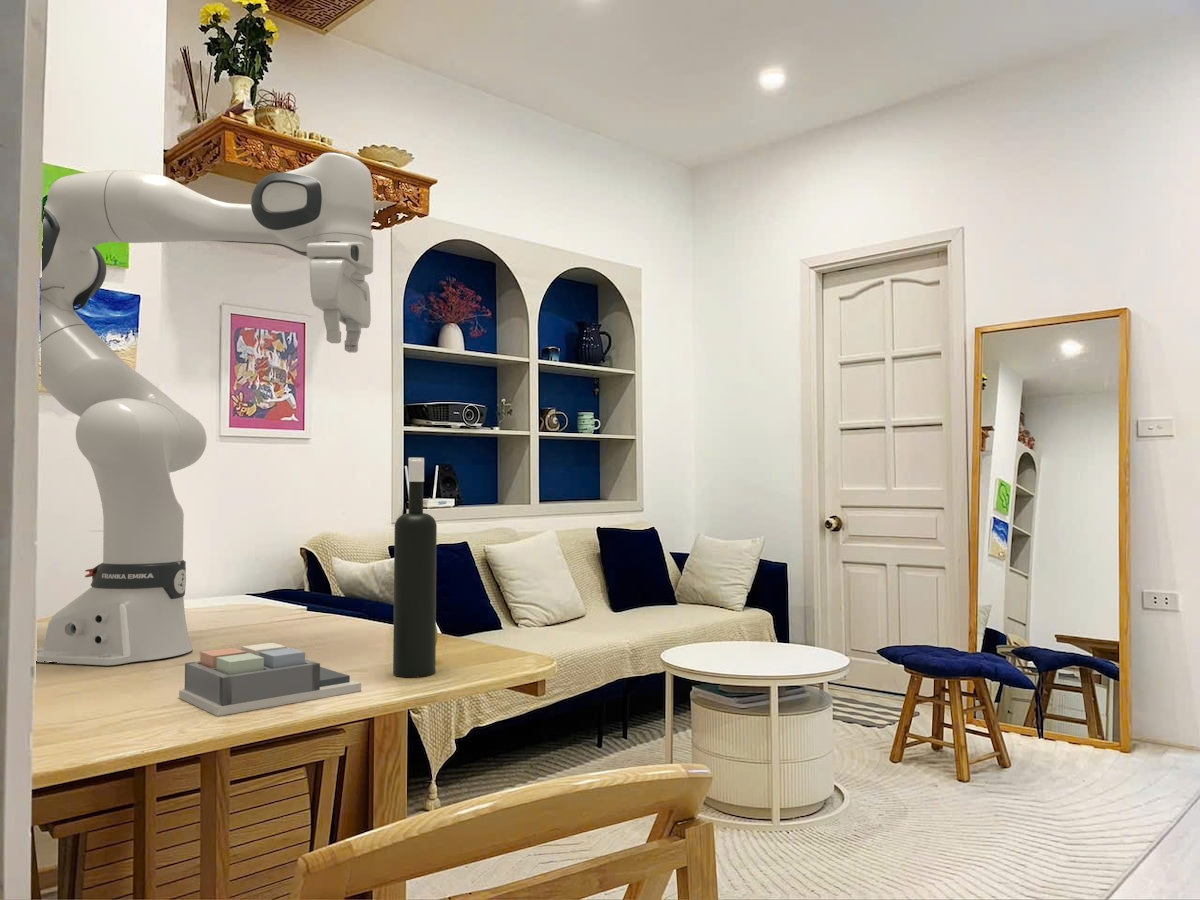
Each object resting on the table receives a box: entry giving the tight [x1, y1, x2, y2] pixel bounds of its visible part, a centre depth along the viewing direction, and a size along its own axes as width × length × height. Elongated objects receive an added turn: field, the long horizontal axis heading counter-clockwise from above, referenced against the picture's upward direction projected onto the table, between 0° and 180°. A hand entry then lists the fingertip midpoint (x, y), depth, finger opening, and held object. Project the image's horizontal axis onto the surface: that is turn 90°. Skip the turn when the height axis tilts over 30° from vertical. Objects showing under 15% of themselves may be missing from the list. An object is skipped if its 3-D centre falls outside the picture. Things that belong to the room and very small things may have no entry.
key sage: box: [216, 653, 264, 675], centre depth 107 cm, size 4×4×2 cm
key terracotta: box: [199, 647, 246, 669], centre depth 111 cm, size 4×4×2 cm
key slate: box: [259, 647, 306, 669], centre depth 111 cm, size 4×4×2 cm
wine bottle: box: [392, 457, 438, 678], centre depth 126 cm, size 6×6×30 cm
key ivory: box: [241, 642, 287, 656], centre depth 114 cm, size 4×4×2 cm
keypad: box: [178, 658, 362, 717], centre depth 112 cm, size 18×12×4 cm, turn 134°
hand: (342, 347), depth 140 cm, fingers open, 8 cm apart
